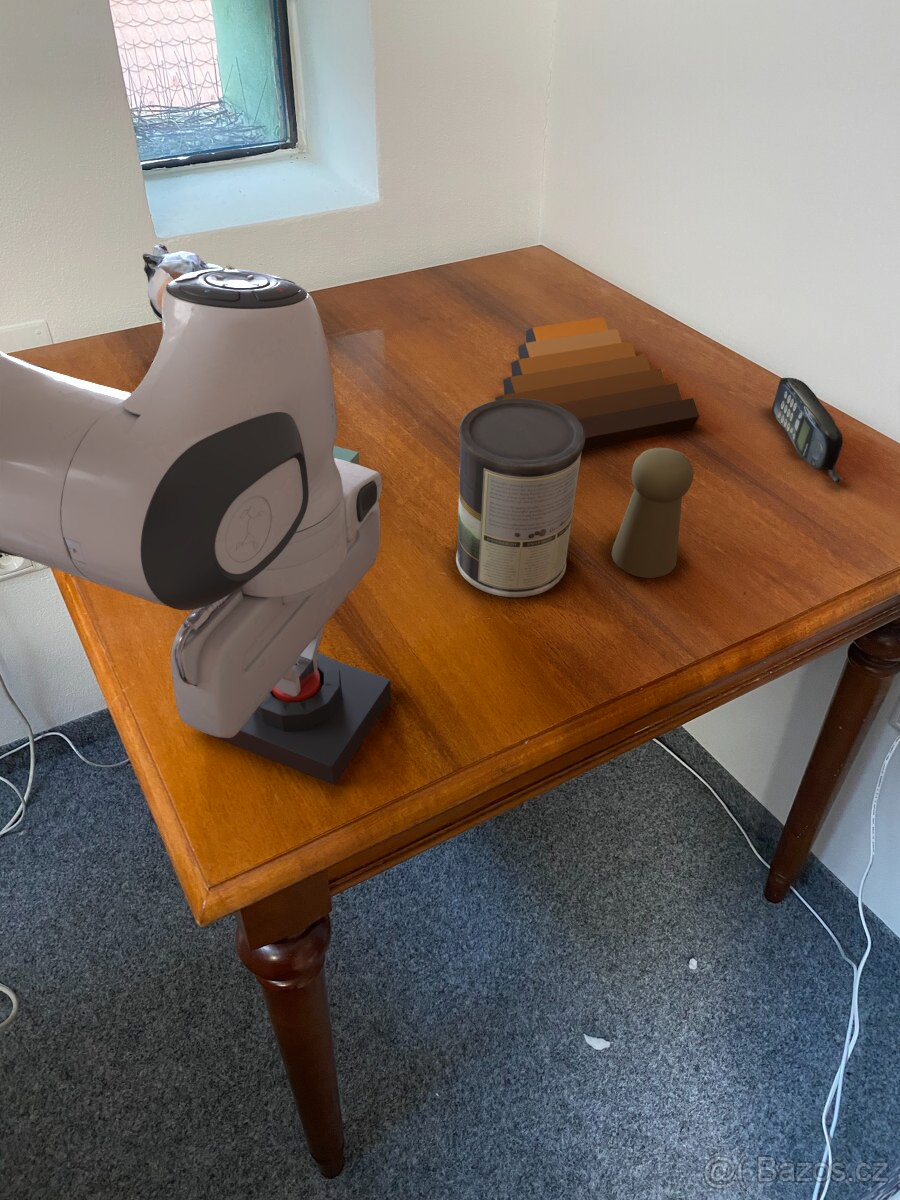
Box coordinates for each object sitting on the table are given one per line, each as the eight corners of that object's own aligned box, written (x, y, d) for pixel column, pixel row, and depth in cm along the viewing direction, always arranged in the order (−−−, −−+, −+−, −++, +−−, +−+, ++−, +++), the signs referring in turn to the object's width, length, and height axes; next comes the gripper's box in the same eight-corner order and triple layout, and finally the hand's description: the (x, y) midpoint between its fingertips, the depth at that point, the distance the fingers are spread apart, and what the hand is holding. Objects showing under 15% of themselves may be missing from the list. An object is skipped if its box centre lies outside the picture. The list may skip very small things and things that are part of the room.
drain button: (263, 703, 65) (260, 687, 63) (289, 670, 67) (286, 654, 66) (305, 719, 64) (303, 703, 62) (330, 685, 66) (328, 669, 65)
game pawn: (683, 547, 83) (709, 448, 75) (667, 585, 79) (692, 485, 71) (622, 529, 85) (641, 431, 77) (603, 566, 81) (621, 466, 73)
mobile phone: (776, 373, 98) (833, 443, 87) (802, 373, 99) (862, 442, 87) (765, 413, 102) (818, 485, 90) (790, 412, 102) (846, 484, 91)
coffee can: (432, 565, 80) (433, 432, 71) (500, 513, 86) (509, 384, 77) (523, 615, 76) (537, 480, 66) (588, 557, 81) (609, 425, 72)
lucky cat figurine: (289, 345, 111) (243, 269, 98) (208, 394, 111) (151, 324, 98) (245, 271, 117) (196, 190, 104) (168, 318, 117) (109, 242, 104)
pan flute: (488, 473, 91) (695, 432, 98) (489, 445, 89) (702, 405, 96) (413, 363, 108) (594, 335, 115) (413, 338, 106) (597, 310, 113)
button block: (205, 734, 65) (196, 698, 63) (271, 655, 72) (265, 620, 69) (334, 785, 62) (330, 750, 60) (391, 698, 68) (390, 663, 66)
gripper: (218, 656, 47) (254, 806, 56) (393, 462, 60) (398, 608, 70) (123, 620, 48) (173, 771, 58) (314, 440, 62) (329, 585, 72)
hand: (297, 680), depth 64 cm, fingers closed, pressing on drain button
